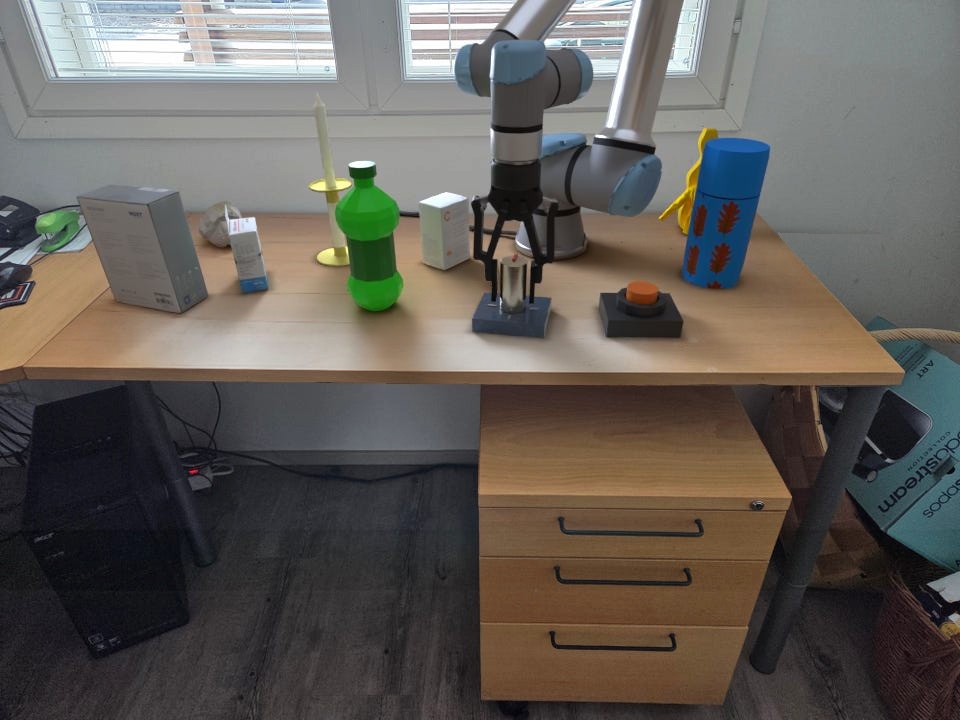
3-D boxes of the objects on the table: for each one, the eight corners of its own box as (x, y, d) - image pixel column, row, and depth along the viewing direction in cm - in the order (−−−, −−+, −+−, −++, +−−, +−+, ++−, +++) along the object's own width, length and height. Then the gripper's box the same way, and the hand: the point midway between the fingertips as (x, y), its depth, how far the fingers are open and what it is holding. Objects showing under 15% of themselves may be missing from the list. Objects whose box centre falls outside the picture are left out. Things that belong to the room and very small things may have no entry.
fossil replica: (223, 256, 131) (261, 244, 138) (219, 218, 127) (258, 208, 134) (187, 240, 136) (225, 230, 143) (181, 203, 132) (221, 195, 139)
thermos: (743, 291, 114) (776, 153, 100) (683, 287, 115) (708, 151, 102) (734, 268, 123) (764, 138, 109) (679, 264, 124) (702, 136, 111)
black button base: (606, 337, 100) (609, 310, 97) (598, 308, 109) (601, 283, 106) (680, 338, 100) (685, 310, 97) (666, 309, 108) (671, 283, 105)
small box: (448, 251, 131) (446, 191, 124) (470, 258, 128) (469, 197, 121) (421, 263, 126) (417, 201, 119) (444, 271, 123) (441, 207, 116)
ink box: (269, 290, 116) (253, 214, 108) (242, 294, 115) (223, 218, 107) (266, 272, 123) (251, 200, 115) (240, 276, 122) (223, 203, 114)
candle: (306, 262, 127) (277, 93, 110) (334, 245, 135) (310, 85, 117) (348, 269, 124) (324, 97, 106) (373, 251, 132) (355, 88, 114)
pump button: (628, 305, 100) (630, 294, 99) (623, 291, 104) (625, 280, 103) (659, 305, 99) (661, 294, 98) (653, 291, 104) (655, 280, 103)
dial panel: (472, 331, 102) (471, 317, 101) (484, 304, 110) (484, 291, 109) (543, 338, 100) (544, 324, 99) (550, 310, 108) (551, 296, 107)
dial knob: (523, 314, 102) (525, 265, 97) (497, 312, 102) (497, 263, 98) (527, 302, 105) (529, 254, 101) (502, 300, 106) (503, 252, 101)
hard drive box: (210, 296, 114) (181, 190, 103) (181, 315, 108) (147, 204, 97) (145, 285, 119) (110, 182, 108) (113, 302, 113) (73, 195, 102)
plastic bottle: (360, 323, 105) (340, 176, 92) (342, 298, 113) (322, 160, 99) (414, 310, 109) (403, 167, 95) (393, 287, 117) (380, 152, 103)
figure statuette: (658, 236, 137) (673, 134, 126) (652, 224, 144) (666, 126, 132) (739, 237, 136) (762, 134, 124) (729, 225, 143) (751, 126, 131)
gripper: (579, 153, 93) (569, 291, 105) (457, 150, 95) (461, 286, 107) (579, 166, 86) (568, 312, 99) (449, 163, 88) (454, 306, 101)
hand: (513, 298), depth 103 cm, fingers open, 6 cm apart
